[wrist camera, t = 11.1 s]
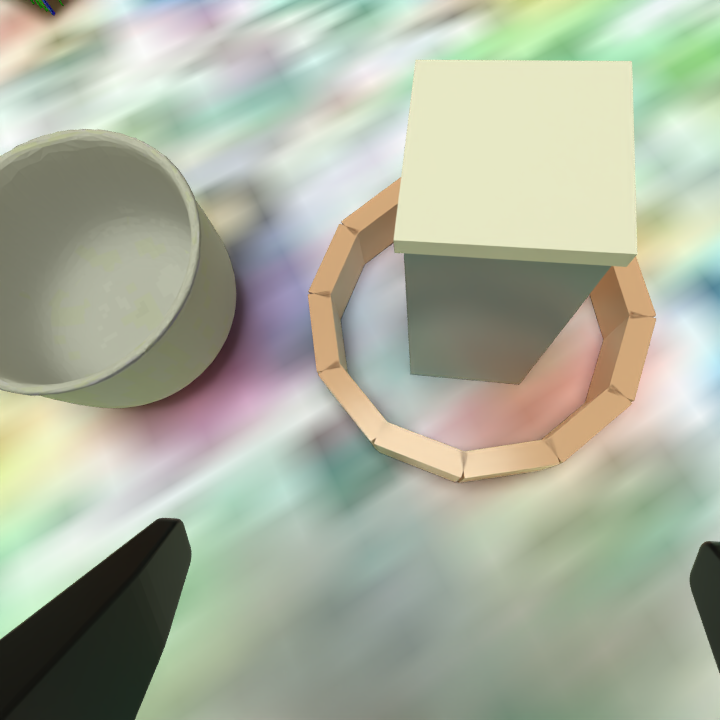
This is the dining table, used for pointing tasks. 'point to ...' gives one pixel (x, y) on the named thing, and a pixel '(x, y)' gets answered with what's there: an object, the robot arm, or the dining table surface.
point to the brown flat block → (46, 5)
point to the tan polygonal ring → (603, 404)
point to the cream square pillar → (511, 207)
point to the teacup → (106, 273)
